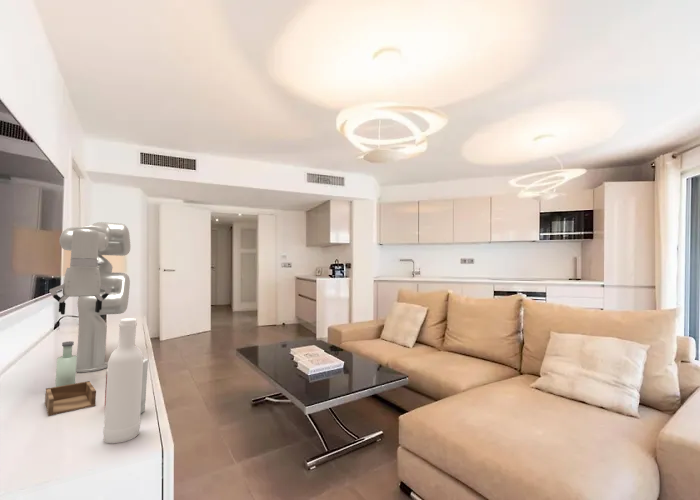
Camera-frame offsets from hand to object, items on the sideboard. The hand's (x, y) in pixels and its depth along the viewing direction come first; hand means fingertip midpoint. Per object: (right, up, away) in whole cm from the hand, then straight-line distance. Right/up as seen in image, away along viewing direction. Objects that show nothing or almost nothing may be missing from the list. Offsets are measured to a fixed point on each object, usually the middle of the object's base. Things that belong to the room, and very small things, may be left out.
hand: (80, 313), depth 120 cm
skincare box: (+29, -27, -20) cm, 44 cm away
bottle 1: (-3, -26, -3) cm, 27 cm away
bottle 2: (+35, -26, -31) cm, 54 cm away
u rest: (+7, -26, -13) cm, 30 cm away
